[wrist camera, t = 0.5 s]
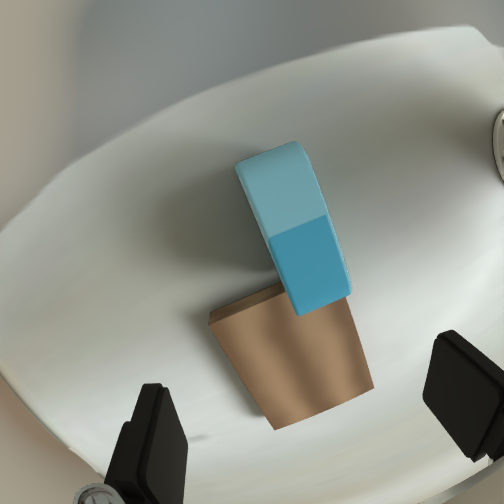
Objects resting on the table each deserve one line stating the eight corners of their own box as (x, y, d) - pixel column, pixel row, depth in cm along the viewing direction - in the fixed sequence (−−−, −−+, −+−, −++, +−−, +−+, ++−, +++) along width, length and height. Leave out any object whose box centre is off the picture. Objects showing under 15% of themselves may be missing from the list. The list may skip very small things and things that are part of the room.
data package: (233, 166, 30) (234, 163, 19) (275, 150, 30) (301, 137, 19) (277, 272, 33) (300, 325, 22) (316, 256, 33) (357, 300, 22)
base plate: (327, 260, 33) (335, 268, 30) (366, 375, 38) (374, 388, 35) (210, 312, 34) (208, 324, 31) (272, 415, 39) (274, 430, 36)
